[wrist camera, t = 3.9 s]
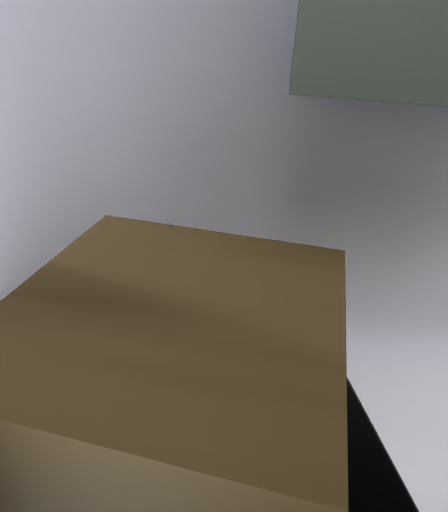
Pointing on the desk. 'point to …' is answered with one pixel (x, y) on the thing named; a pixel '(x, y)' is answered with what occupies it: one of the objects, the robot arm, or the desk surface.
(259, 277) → the walnut block
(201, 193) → the desk surface
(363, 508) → the robot arm
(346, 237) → the desk surface
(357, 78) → the blueprint plate
